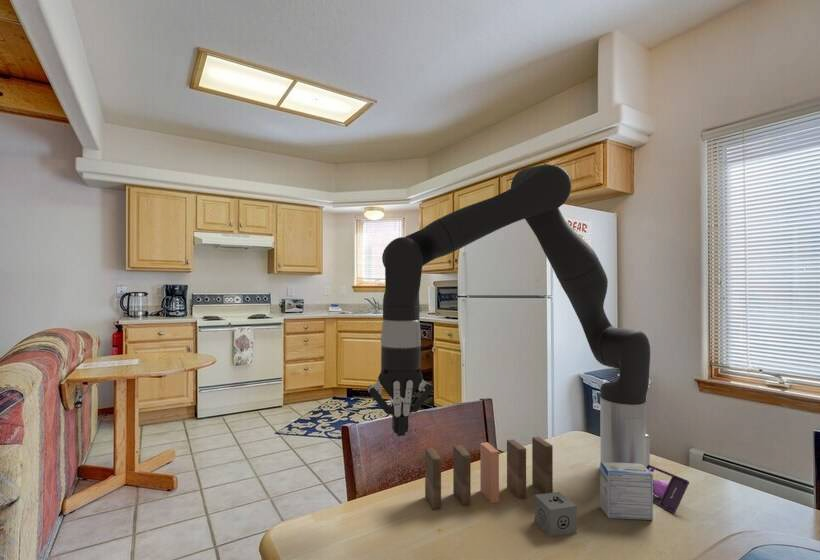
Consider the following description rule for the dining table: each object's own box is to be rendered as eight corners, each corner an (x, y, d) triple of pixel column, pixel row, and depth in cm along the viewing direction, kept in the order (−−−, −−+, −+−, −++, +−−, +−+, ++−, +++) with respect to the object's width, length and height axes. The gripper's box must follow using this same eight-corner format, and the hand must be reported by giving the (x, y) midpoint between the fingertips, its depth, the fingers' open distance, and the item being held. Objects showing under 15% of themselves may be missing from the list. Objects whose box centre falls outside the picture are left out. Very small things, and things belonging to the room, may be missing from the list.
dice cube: (576, 535, 71) (576, 505, 71) (550, 539, 70) (550, 509, 70) (559, 519, 76) (559, 491, 76) (534, 522, 74) (534, 494, 75)
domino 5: (538, 483, 89) (538, 436, 89) (552, 494, 84) (552, 445, 84) (532, 484, 89) (532, 437, 89) (545, 495, 84) (545, 446, 84)
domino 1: (432, 498, 83) (432, 447, 83) (441, 511, 78) (441, 458, 78) (425, 499, 82) (425, 448, 82) (432, 512, 78) (433, 459, 78)
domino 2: (460, 494, 84) (460, 445, 84) (470, 507, 80) (470, 454, 80) (453, 495, 84) (453, 445, 84) (462, 508, 79) (462, 455, 79)
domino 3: (487, 490, 86) (487, 442, 86) (498, 502, 81) (498, 451, 81) (480, 491, 85) (480, 443, 86) (491, 503, 81) (491, 452, 81)
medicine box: (642, 508, 79) (642, 463, 79) (653, 521, 75) (653, 473, 75) (599, 506, 80) (599, 461, 80) (608, 519, 76) (608, 471, 76)
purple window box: (670, 510, 77) (631, 490, 85) (688, 525, 78) (647, 504, 86) (686, 478, 79) (645, 462, 87) (702, 493, 80) (661, 475, 88)
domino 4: (513, 486, 87) (513, 439, 88) (526, 498, 83) (526, 448, 83) (506, 487, 87) (506, 440, 87) (519, 499, 82) (518, 449, 82)
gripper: (369, 347, 73) (368, 445, 73) (440, 345, 77) (439, 438, 77) (363, 341, 81) (362, 430, 80) (428, 339, 84) (427, 425, 84)
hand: (400, 434), depth 79 cm, fingers closed
